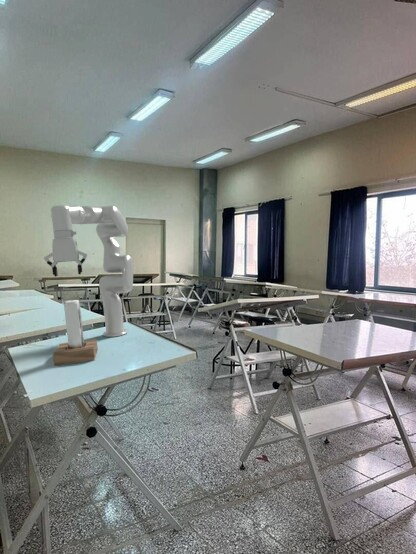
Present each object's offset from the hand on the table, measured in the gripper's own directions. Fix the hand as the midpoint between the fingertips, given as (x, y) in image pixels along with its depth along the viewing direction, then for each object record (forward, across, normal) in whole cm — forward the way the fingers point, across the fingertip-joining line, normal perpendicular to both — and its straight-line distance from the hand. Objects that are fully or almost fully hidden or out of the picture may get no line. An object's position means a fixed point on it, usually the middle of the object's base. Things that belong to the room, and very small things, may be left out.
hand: (68, 275), depth 160 cm
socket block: (+36, 0, 0) cm, 36 cm away
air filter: (+36, 0, 0) cm, 36 cm away
